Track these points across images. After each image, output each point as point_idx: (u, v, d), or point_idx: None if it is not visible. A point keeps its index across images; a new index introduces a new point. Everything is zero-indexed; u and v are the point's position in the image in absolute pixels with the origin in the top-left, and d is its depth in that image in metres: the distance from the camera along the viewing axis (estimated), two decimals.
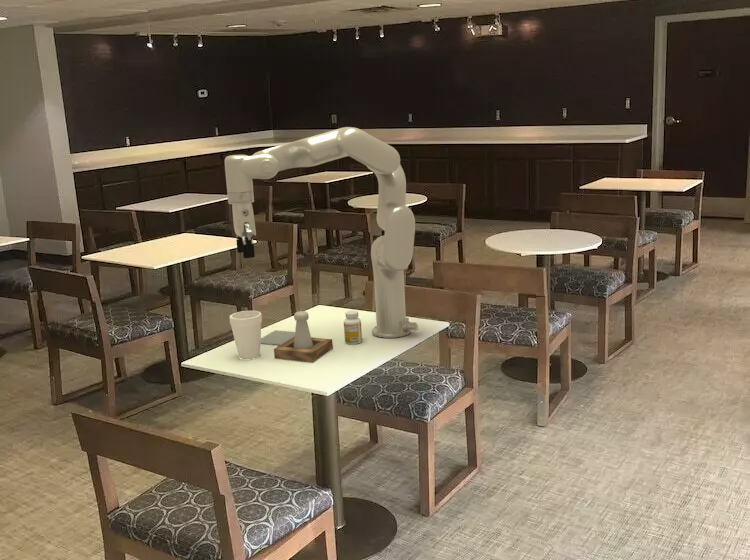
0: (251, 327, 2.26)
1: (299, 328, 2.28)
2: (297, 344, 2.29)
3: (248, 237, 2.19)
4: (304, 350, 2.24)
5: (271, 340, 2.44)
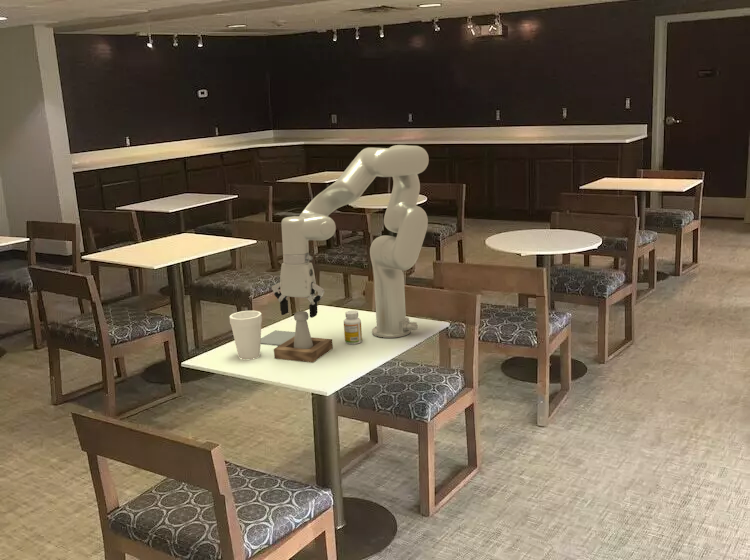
0: (251, 327, 2.26)
1: (299, 328, 2.28)
2: (297, 344, 2.29)
3: (321, 296, 2.24)
4: (304, 350, 2.24)
5: (271, 340, 2.44)
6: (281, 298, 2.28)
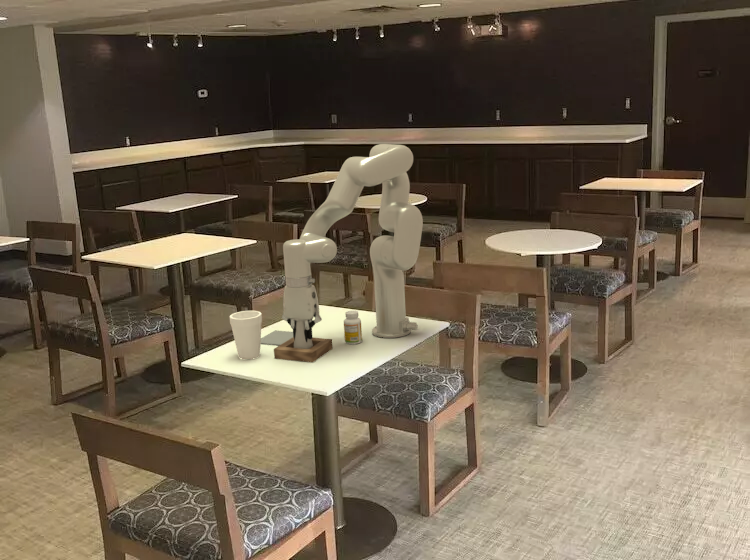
0: (251, 327, 2.25)
1: (299, 328, 2.28)
2: (296, 344, 2.29)
3: None
4: (304, 350, 2.24)
5: (271, 340, 2.44)
6: (293, 324, 2.29)
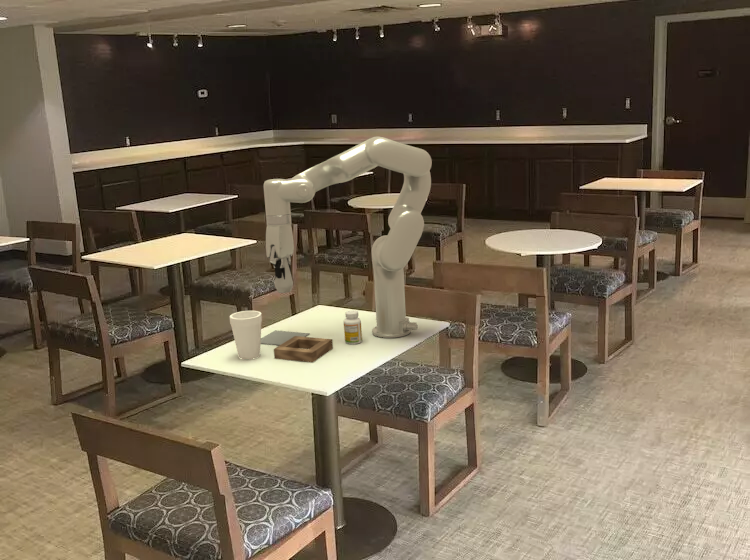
0: (251, 327, 2.26)
1: (287, 265, 2.35)
2: (290, 280, 2.35)
3: None
4: (304, 350, 2.24)
5: (271, 340, 2.44)
6: (282, 263, 2.33)
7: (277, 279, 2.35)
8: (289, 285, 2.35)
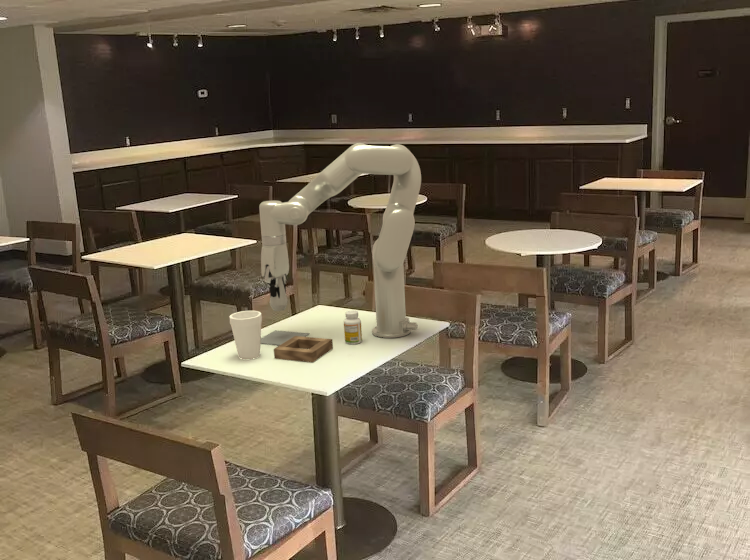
0: (251, 327, 2.26)
1: (282, 284, 2.42)
2: (284, 299, 2.42)
3: None
4: (304, 350, 2.24)
5: (271, 340, 2.44)
6: (277, 282, 2.40)
7: (272, 298, 2.42)
8: (283, 303, 2.42)
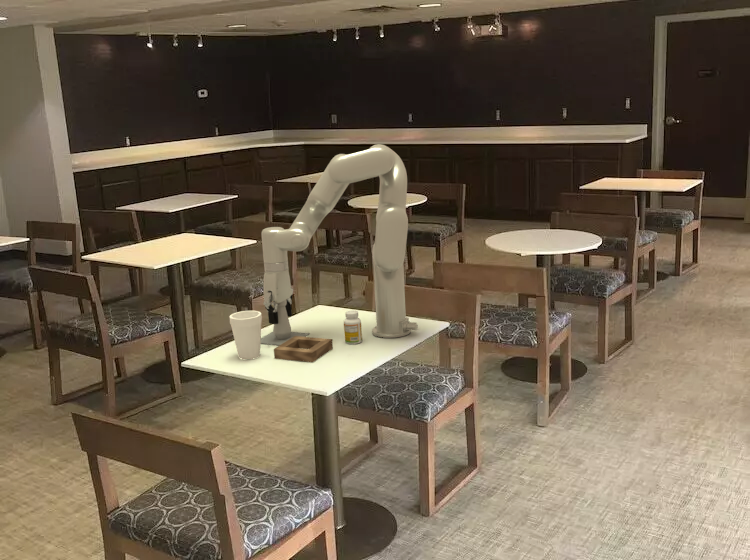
0: (251, 327, 2.26)
1: (285, 312, 2.44)
2: (287, 327, 2.44)
3: None
4: (304, 350, 2.24)
5: (271, 340, 2.44)
6: (276, 308, 2.40)
7: (275, 326, 2.44)
8: (287, 332, 2.44)
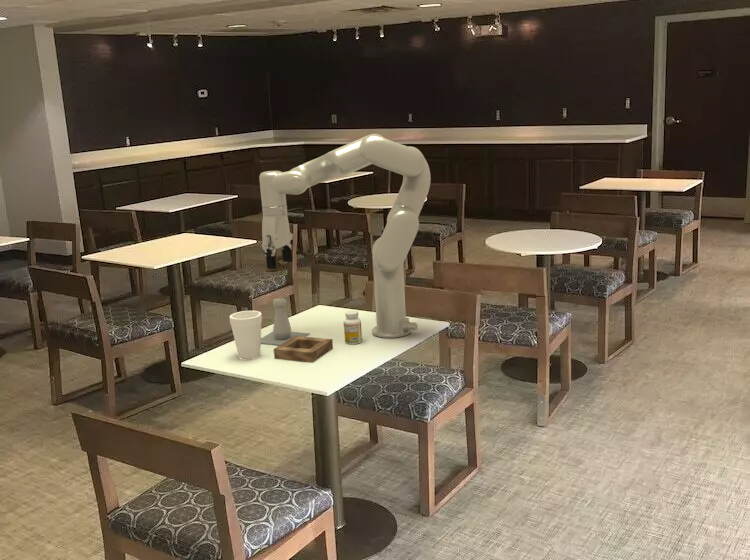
0: (251, 327, 2.26)
1: (285, 312, 2.44)
2: (287, 327, 2.44)
3: None
4: (304, 350, 2.24)
5: (271, 340, 2.44)
6: (274, 252, 2.35)
7: (275, 326, 2.44)
8: (287, 332, 2.44)
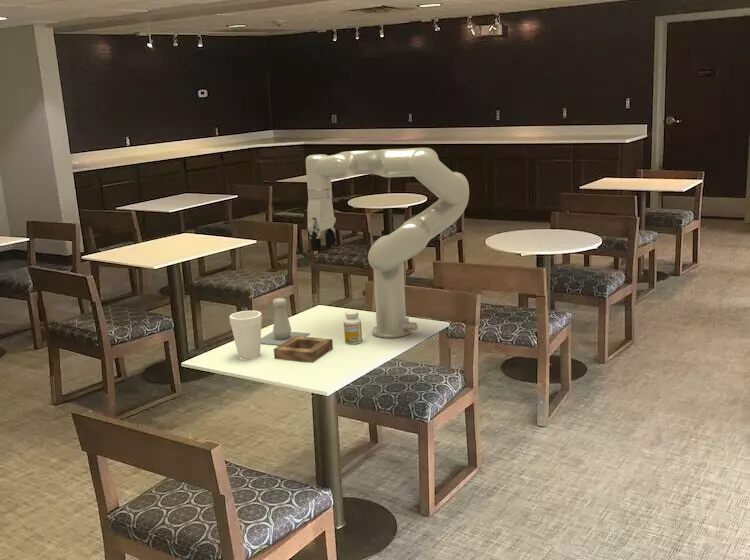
0: (251, 327, 2.26)
1: (285, 313, 2.44)
2: (287, 327, 2.44)
3: None
4: (304, 350, 2.24)
5: (271, 340, 2.44)
6: (319, 235, 2.38)
7: (275, 326, 2.44)
8: (287, 332, 2.44)
